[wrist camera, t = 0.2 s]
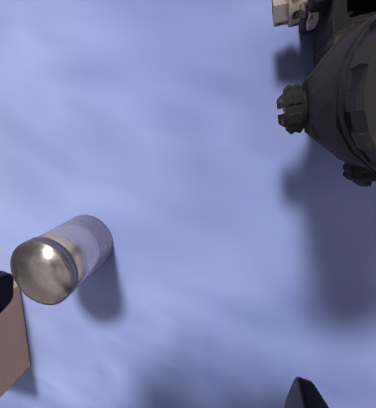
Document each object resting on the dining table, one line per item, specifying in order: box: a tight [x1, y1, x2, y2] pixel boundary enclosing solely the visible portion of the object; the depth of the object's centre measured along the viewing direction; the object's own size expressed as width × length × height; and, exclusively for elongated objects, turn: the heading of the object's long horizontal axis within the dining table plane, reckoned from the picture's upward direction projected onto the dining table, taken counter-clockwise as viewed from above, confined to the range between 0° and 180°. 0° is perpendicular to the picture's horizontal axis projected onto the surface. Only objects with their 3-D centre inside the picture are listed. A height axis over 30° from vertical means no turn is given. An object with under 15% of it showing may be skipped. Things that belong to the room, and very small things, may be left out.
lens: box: [10, 215, 113, 305], centre depth 23 cm, size 5×5×6 cm
